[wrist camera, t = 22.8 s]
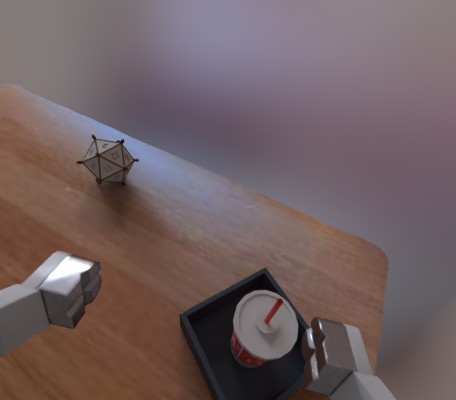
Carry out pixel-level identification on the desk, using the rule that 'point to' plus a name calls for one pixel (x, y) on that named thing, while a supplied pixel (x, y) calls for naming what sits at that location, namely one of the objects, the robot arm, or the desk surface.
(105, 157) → the game die
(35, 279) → the robot arm
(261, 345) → the beverage cup
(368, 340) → the desk surface
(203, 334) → the tote
